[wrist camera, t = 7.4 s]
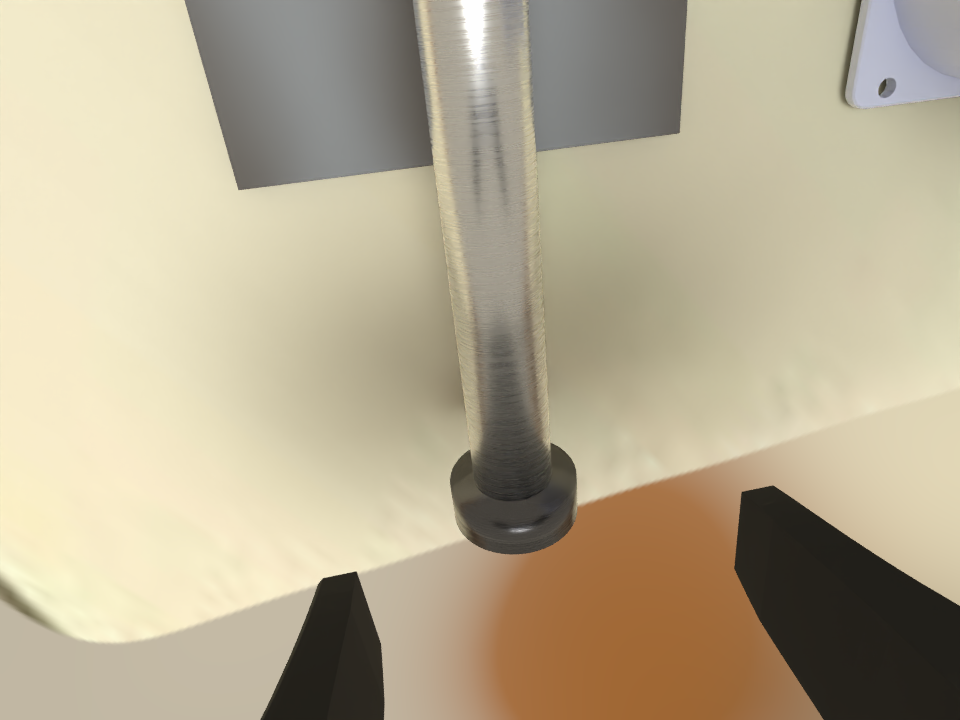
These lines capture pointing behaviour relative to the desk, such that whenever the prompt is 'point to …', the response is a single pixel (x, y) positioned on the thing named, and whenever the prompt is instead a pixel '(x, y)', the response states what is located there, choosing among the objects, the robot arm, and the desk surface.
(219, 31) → the bearing block
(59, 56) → the desk surface
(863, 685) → the robot arm
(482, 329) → the shaft
